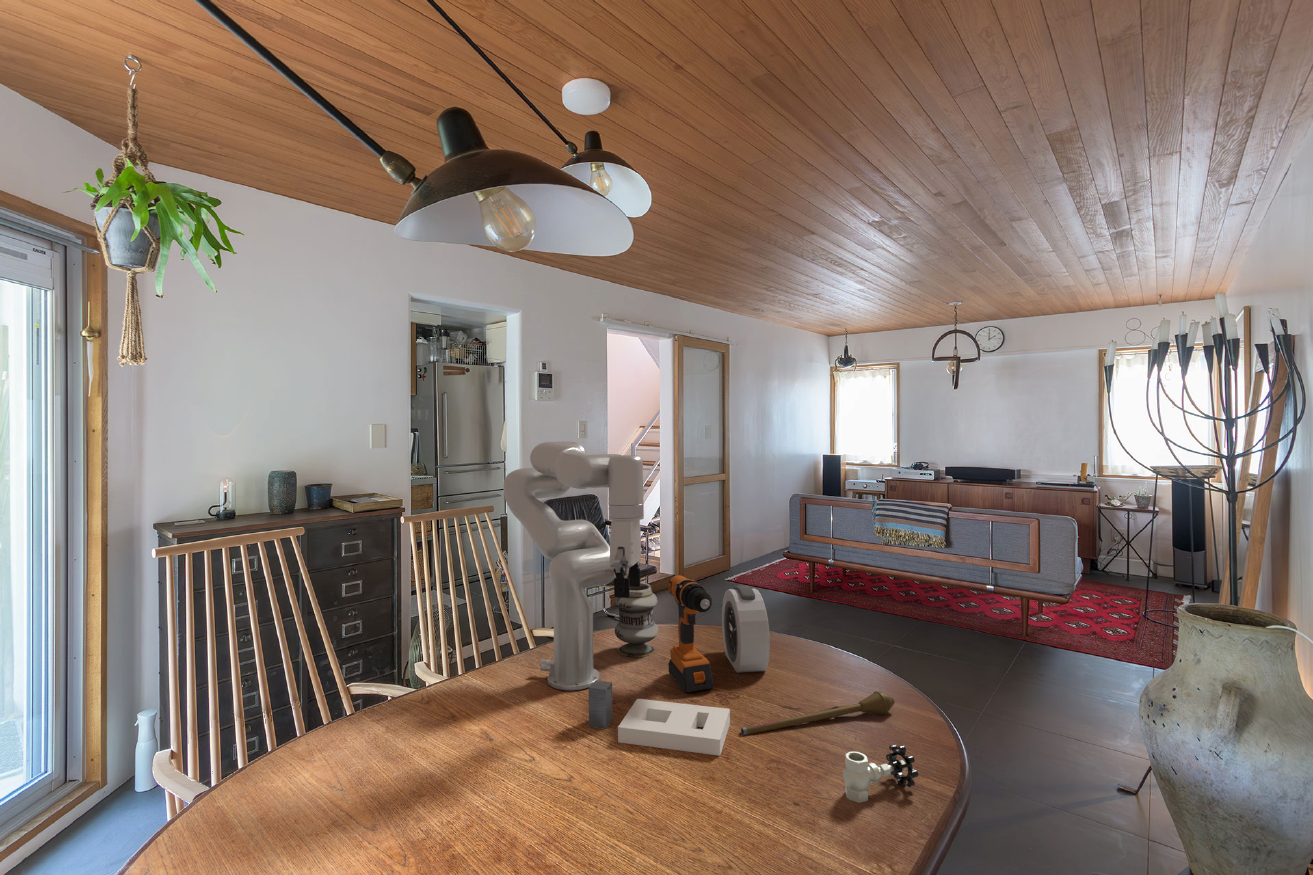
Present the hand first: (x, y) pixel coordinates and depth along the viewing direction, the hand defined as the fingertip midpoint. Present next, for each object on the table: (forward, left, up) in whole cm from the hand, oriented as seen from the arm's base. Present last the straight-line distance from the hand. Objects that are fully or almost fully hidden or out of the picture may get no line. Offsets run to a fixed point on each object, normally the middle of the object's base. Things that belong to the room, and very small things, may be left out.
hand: (627, 591), depth 130 cm
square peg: (-4, -6, -26) cm, 27 cm away
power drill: (+11, +17, -26) cm, 33 cm away
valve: (+49, -17, -26) cm, 58 cm away
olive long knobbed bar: (+40, +5, -27) cm, 48 cm away
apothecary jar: (-9, +36, -26) cm, 45 cm away
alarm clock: (+21, +35, -26) cm, 48 cm away
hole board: (+12, -6, -26) cm, 29 cm away
